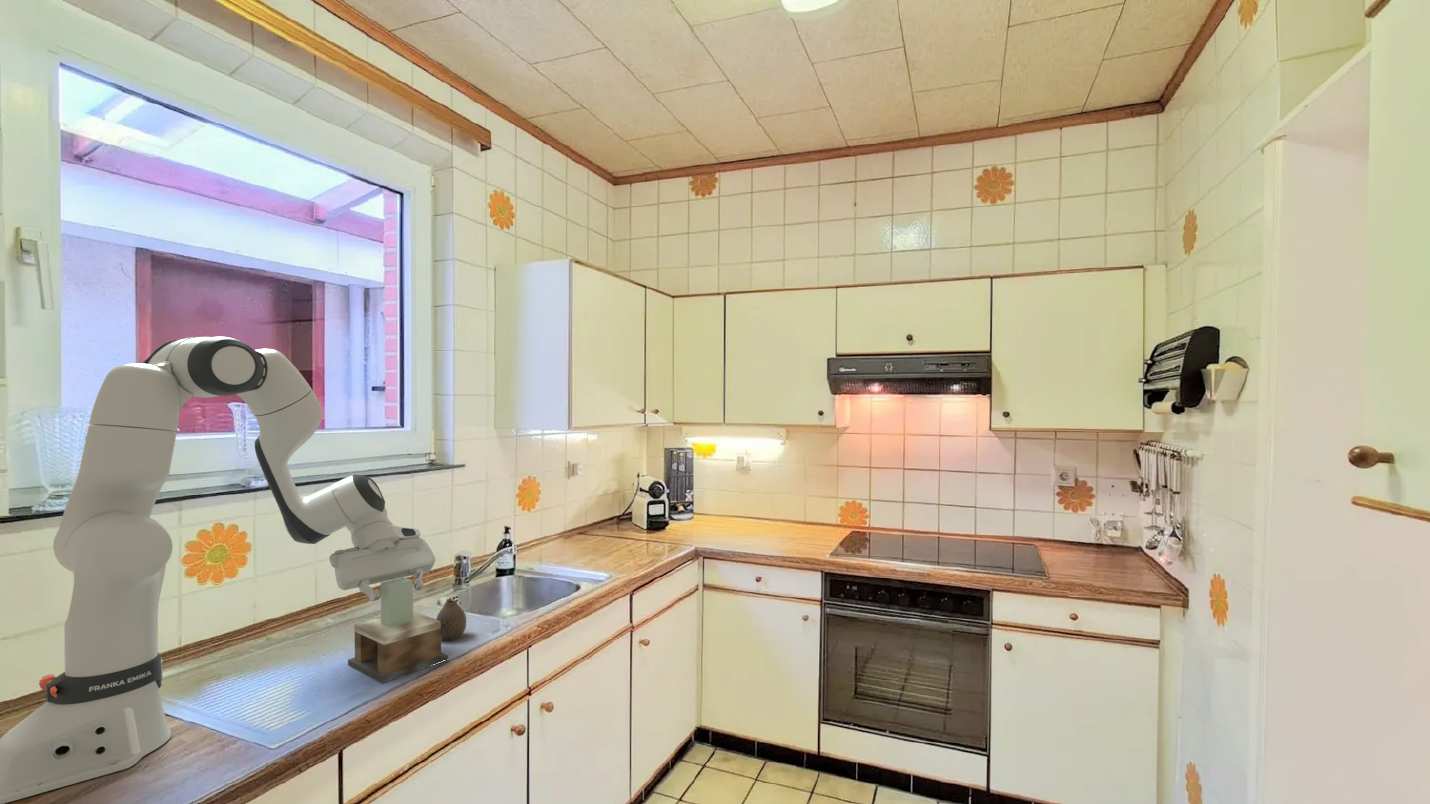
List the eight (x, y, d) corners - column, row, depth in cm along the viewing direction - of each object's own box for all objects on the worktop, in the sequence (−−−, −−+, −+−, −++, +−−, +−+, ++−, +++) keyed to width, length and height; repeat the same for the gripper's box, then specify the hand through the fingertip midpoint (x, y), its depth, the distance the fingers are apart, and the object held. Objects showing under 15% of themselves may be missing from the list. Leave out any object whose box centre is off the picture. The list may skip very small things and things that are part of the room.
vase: (457, 630, 157) (457, 595, 157) (472, 636, 152) (471, 600, 152) (430, 639, 151) (429, 602, 151) (444, 645, 147) (443, 607, 147)
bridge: (381, 683, 126) (381, 640, 127) (348, 665, 136) (347, 624, 136) (447, 660, 137) (447, 620, 138) (412, 645, 147) (411, 608, 147)
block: (389, 628, 134) (389, 585, 134) (381, 624, 136) (380, 582, 136) (413, 621, 138) (412, 580, 138) (404, 618, 140) (403, 577, 140)
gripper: (331, 543, 133) (351, 597, 127) (425, 528, 149) (447, 575, 143) (322, 561, 136) (342, 615, 130) (416, 544, 152) (437, 591, 146)
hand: (398, 593), depth 137 cm, fingers open, 8 cm apart
